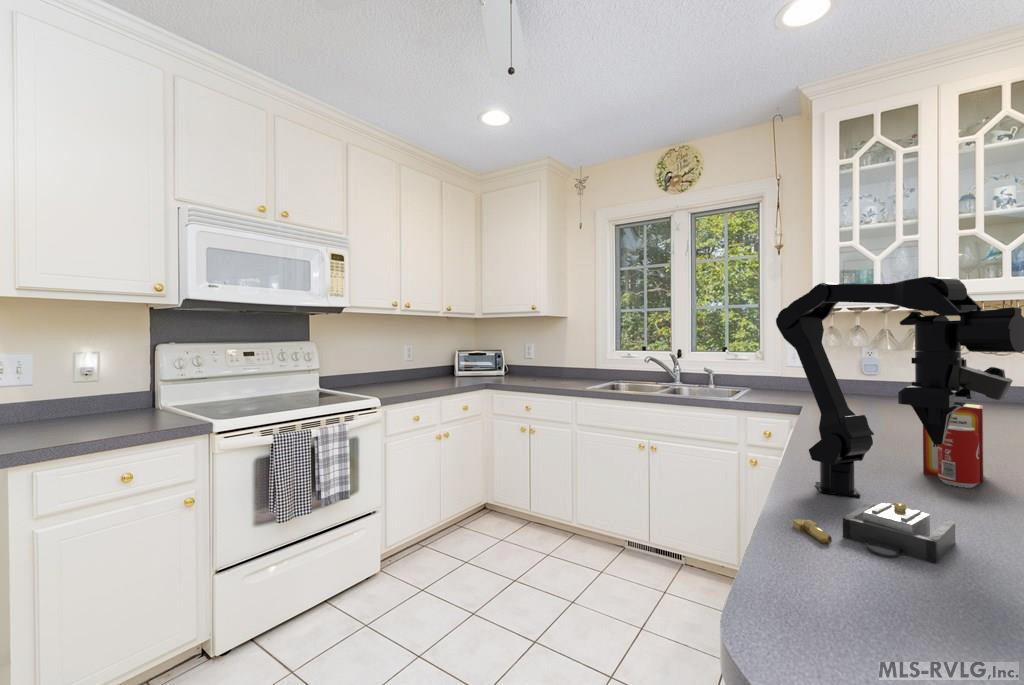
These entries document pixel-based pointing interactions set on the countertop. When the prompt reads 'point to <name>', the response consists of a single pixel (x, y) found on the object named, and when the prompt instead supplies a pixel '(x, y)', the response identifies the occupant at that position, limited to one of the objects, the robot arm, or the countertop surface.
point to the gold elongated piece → (812, 530)
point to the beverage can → (959, 457)
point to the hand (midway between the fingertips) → (938, 444)
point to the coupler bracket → (898, 538)
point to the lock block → (899, 518)
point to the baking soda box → (962, 417)
